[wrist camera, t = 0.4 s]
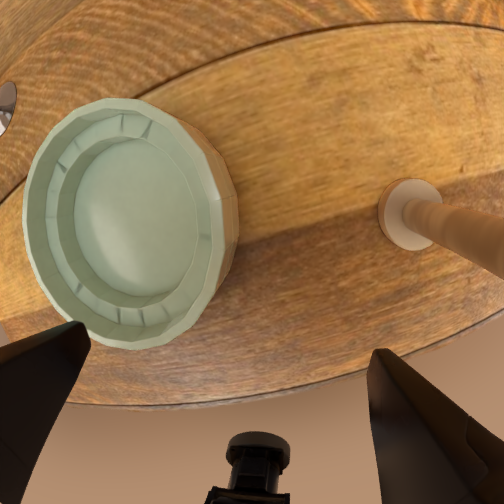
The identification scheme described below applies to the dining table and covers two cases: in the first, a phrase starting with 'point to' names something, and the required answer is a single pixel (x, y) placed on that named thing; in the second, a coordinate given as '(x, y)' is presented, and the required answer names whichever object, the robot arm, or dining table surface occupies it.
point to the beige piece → (440, 224)
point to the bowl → (129, 222)
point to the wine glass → (6, 104)
